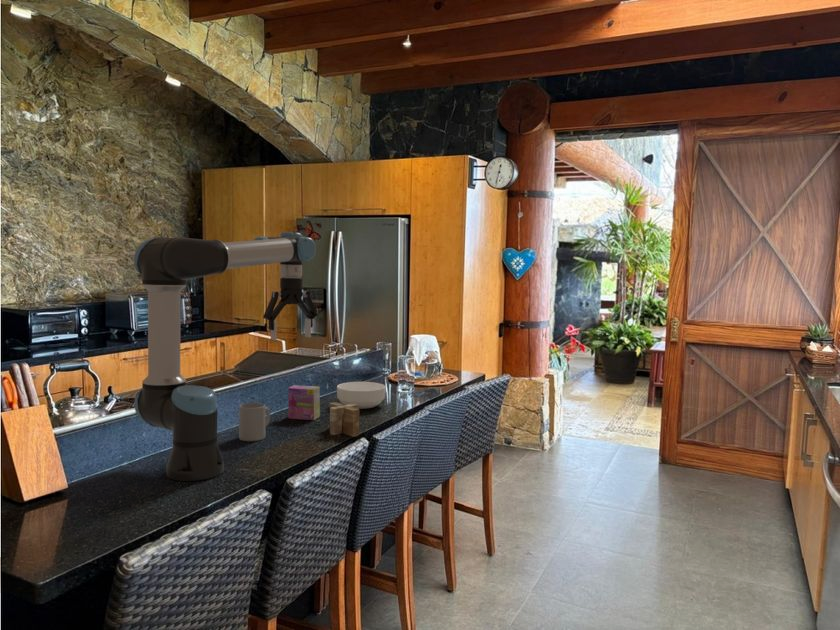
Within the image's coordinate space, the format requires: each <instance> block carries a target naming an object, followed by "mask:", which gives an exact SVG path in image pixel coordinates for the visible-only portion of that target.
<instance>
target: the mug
mask: <svg viewBox="0 0 840 630" xmlns="http://www.w3.org/2000/svg"><path fill="white" fill-rule="evenodd" d="M270 420H271V412H270V409H269V407H268V406H266V404H265V403H261V402H246V403H245V402H244V403H241V404H239V406H238V438H239V440H240V441H243V442H259V441H263V440H264V439H266V427H267V426H268V425H269V424H270Z"/></svg>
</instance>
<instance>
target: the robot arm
mask: <svg viewBox="0 0 840 630" xmlns="http://www.w3.org/2000/svg"><path fill="white" fill-rule="evenodd" d="M316 247H317V246H316V243H315V241H314V239H312V238H311V237H307V236H303V235H302V234H301V233H300V232H289V231H285V232H284V231H283V232H281V233H280V234H279V236H258V237H255V238H254V239H253V240H241V241H240V240H239V241H227V242H223V241H221V239H200V238H193V237H192V238H190V237H163V236H161V237H160V236H158V237H152V238H149V239H146V240H144V241H142V242H141V244H139V245H138V247H137V248H136V250H135V252H134V256H133V263H134V264H133V265H134V268H135V271H137V272H138V273H139V275H140V276H141V278H142V279H141V281H142V282H141V283H142V284H141V286H142V287H143V288H144V289H146V290H147V363H148V364H147V370H148V371H147V374H148V375H147V376H146V377H145V378H144V379H143V380H142V387H141V388H140V389H139V390H138V391H139V392H138V393H137V394H135V398H134V403H133V404H134V410H135V411H134V412H135V413H136V415H137V417H138V418H139V419H140V421H142V422H143V423H145V424H147V425H150V426H152V427H154V428H161V429H164V430H167V431H171V432H172V448H171V451H170V453H169V454H170V455H169V457H168V461H167V464H166V467H165V470H166V471H165V472H166V473H165V474H166V477H167V478H169V479H171V480H174V481H180V482H195V481H204V480H208V479H212V478H215V477H218V476H220V475H221V474H223V472H224V471H225V461H224V458H223V455H222V453H221V450H220V447H219V443H218V407H219V405H218V397H217V394H216V392H215V391H214V390H213V389H212V388H210V387H207V386H203V385H194V384H192V385H191V384H188V385H187V379H186V378H185V377H184V376H182V373H181V298H182V297H181V292H182V291H183V290H184V289H185V288H186V287H187V281H188V280H192V279H198V278H203V277H207V276H213V275H220V274H221V275H222V274H224V273H225V272H226V270H228V269H229V270H230V269H232V270H233V269H239V268H246V267H252V266H253V267H254V266H255V267H256V266H263V265H271V264H279V266H280V268H279V276H280V277H281V278H280V279H279V283H280V284H279V287H280V288H279V289H280V291H271V298H270V300H269V302H268V305H267V306H266V310H264V311H265V312H264V314H263V316H262V318H263V319H264V320H267V321H268V330H269V331H270V340H273V341H277V339H278V338H277V336H278V334H277V333H278V330H277V327H278V326H277V324H278V323H277V322H278V321H277V320H276V319H277V317H278V316H279V314H280V313H281V312H282V310H283V308H284V307H286V306H287V305H297V307H299V308H300V310H301V311H302V312H303V314H304V316H305V317H306V318H304V338H305V337H306V338H312V328H313V327H314V324H313V322H314V321H313V320H314V319H315V317H318V316H319V315H318V312H317V309H316V307H315V304H314V303H313V300H312V297H311V292H310V291H309V290H303V278H302V277H303V262H306V261H307V262H308V261H311V260H312V259H313V258H315V255H316V254H317V248H316ZM279 298H280V299H279ZM302 298H303V299H304V300H302ZM278 300H279V301H278ZM304 301H305V303H306V304H305V303H304ZM277 303H278V304H277Z"/></svg>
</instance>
